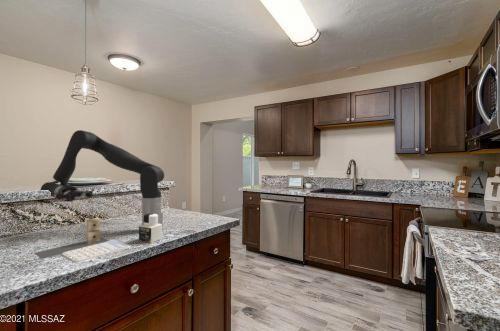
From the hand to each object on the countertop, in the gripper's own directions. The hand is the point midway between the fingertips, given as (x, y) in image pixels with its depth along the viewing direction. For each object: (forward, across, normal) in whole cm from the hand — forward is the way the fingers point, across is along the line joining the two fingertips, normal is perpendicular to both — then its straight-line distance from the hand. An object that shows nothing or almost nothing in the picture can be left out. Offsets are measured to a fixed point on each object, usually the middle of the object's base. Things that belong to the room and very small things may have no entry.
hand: (80, 196), depth 113 cm
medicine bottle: (+28, +17, +19) cm, 38 cm away
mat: (+13, -7, +19) cm, 24 cm away
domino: (+12, 0, +19) cm, 22 cm away
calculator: (+24, -3, +20) cm, 31 cm away
